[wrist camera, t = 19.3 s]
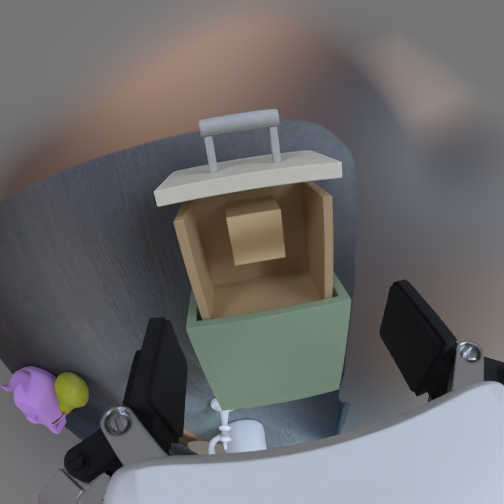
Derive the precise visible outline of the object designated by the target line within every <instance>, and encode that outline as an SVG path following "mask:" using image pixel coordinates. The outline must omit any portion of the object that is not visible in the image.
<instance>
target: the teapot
mask: <svg viewBox="0 0 504 504" xmlns="http://www.w3.org/2000/svg"><path fill="white" fill-rule="evenodd" d="M56 379H57V378H56V377H55V376H54V375H53V374H51V373H50V372H48V371H46V370H43V369H41V368H38V367H34V366H28V367H24V368H22V369H20V370H18V371H16V372H15V373H14V374H13V376H12V378H11V380H10V382H9V383H8V384H7V385H0V386H1V387H2V388H3V389H5V390H6V391H8V392H11V391H13V390H14V402H15V404H16V405H17V406H18V407H19V408H20V409H21V411H22V412H24V413H25V414H26V418H27V419H28V420H29V421H31V422H32V423H34V424H37V422H38V423H41V424H43V425H46V426H47V427H48V428H49V429H50V430H51V431H52V432H53V433H56V434H59V433H60V431H61V430H62V428H63V427H64V425H65V423H66V419H65V416H66V415H67V414H63V416H62V417H61V415H62V413H61V412H60V410H59V407H58V398H57V395H56V393H55V388H54V385H55V381H56ZM60 417H61V418H60ZM59 418H60V419H59ZM57 419H59V420H58V421H57V422H56V423H54V424H52V423H53V422H55V421H56V420H57Z"/></svg>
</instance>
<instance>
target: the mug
mask: <svg viewBox="0 0 504 504" xmlns="http://www.w3.org/2000/svg"><path fill="white" fill-rule="evenodd" d="M228 426H230V427H231V430H230V431H228V432H229V434H230V437H231V439H232V440H231V441H229V442H227V445H228V450H226V453H238V452H248V451H257V450H265V449H267V448H266V442H265V435H264V429H263V425H262V424H261V423H260V422H258V421H255V420H249V419H243V420H236V421H233V422H231V423H229V424H228ZM220 436H221V434H220V435H217V436H215V437H213V438H212V439H211V441H210V443H209V446H208V452H209V454H216V453H215V450H214V447H215V444H216V443H217V442H218V441H220Z"/></svg>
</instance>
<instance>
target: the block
mask: <svg viewBox="0 0 504 504" xmlns="http://www.w3.org/2000/svg"><path fill="white" fill-rule="evenodd" d="M226 222H227V227H228V232H229V238H230V243H231V248H232V253H233V258H234V263H235V266H237V265H243V264H248V263H254V262H260V261H266V260H272V259H278V258H284V257H285V246H284V235H283V225H282V216H281V209H280V208H279V206H278V204H277V203H276V201H275V199H274V198H273V196H272V195H268V196H262V197H255V198H249V199H243V200H237V201H231V202H226Z"/></svg>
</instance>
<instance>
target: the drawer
mask: <svg viewBox="0 0 504 504" xmlns="http://www.w3.org/2000/svg"><path fill="white" fill-rule="evenodd" d="M278 125H279V115H278V111H277V110H276V109H270V110H261V111H253V112H245V113H239V114H232V115H225V116H219V117H214V118H208V119H203V120H199V130H200V135H201V137H204V141H205V146H206V152H207V158H208V163H209V164H208V165H202V166H197V167H192V168H188V169H183V170H178V171H174V172H172V173H171V174H170V175H169V176H168V177H167V179H166V180H165V181H164V182H163V183H162V184H161V185H160V186H159V187H158V188H157V189H156V190H155V191H154V195H155V199H156V203H157V207H160V206H165V205H170V204H174V203H179V202H183V203H182V205H181V207H180V209H179V211H178V213H177V215H176V217H175V220H174V222H173V223H174V227H175V231H176V234H177V238H178V242H179V245H180V249H181V253H182V256H183V260H184V263H185V266H186V270H187V273H188V276H189V280H190V283H191V286H192V290H193V293H194V296H195V299H196V302H197V305H198V308H199V311H200V314H201V317H202V320H210V319H217V318H223V317H230V316H236V315H243V314H249V313H255V312H261V311H266V310H272V309H278V308H283V307H288V306H294V305H299V304H304V303H309V302H314V301H318V300H323V299H328V298H332V294H333V206H332V196H331V195H330V194H329V193H327V192H326V191H325V190H323V189H322V188H321V187H319V186H318V185H317V184H315V183H314V182H312V181H316V180H324V179H333V178H342V163H341V162H340V161H337V160H335V159H332V158H330V157H327V156H324V155H322V154H319V153H317V152H314V151H311V150H305V151H295V152H286V153H280V148H279V141H278V133H277V127H276V126H278ZM264 127H268V130H269V137H270V145H271V153H272V154H270V155H263V156H256V157H249V158H242V159H236V160H230V161H224V162H219V163H217V162H216V156H215V150H214V145H213V139H212V135H217V134H223V133H229V132H235V131H242V130H249V129H256V128H264ZM268 195H272V196H273V198H274V199H275V201H276V203H277V204H278V206H279V208H280V209H281V216H282V225H283V235H284V246H285V257H284V258H278V259H272V260H266V261H260V262H254V263H248V264H243V265H237V266H235V263H234V258H233V253H232V248H231V243H230V238H229V232H228V227H227V222H226V202H231V201H237V200H243V199H249V198H255V197H262V196H268Z"/></svg>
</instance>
